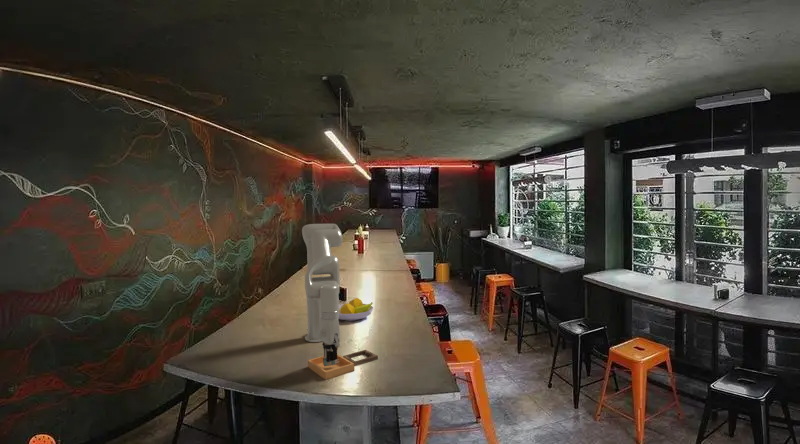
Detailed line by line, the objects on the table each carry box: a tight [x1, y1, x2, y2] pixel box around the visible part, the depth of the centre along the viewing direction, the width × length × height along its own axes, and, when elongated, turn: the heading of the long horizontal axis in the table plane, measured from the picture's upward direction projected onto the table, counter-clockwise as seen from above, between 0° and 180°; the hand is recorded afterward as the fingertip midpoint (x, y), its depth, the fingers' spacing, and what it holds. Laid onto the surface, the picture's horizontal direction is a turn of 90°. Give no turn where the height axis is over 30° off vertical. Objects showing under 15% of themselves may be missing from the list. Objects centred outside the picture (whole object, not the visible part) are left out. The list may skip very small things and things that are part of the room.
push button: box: [322, 341, 339, 366], centre depth 162 cm, size 7×5×10 cm
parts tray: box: [307, 353, 356, 381], centre depth 162 cm, size 16×13×3 cm
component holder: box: [342, 349, 379, 367], centre depth 172 cm, size 10×12×2 cm
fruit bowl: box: [338, 297, 375, 322], centre depth 237 cm, size 28×27×11 cm
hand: (330, 357), depth 162 cm, fingers closed on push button, 4 cm apart
